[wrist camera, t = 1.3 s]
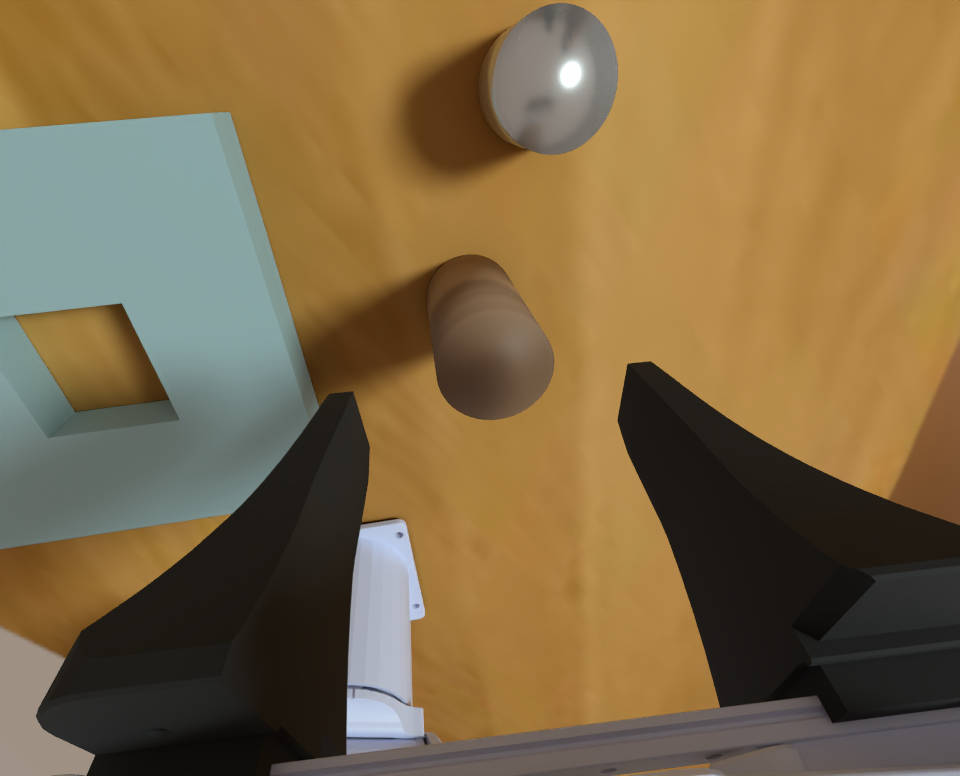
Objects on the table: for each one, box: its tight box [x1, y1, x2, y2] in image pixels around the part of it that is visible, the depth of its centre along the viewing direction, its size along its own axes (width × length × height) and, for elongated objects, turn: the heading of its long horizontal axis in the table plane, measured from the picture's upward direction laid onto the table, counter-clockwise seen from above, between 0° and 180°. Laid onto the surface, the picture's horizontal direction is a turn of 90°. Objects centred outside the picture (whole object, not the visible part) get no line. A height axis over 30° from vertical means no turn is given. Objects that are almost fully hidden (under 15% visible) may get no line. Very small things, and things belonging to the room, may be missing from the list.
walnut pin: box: [426, 255, 554, 420], centre depth 19 cm, size 4×4×7 cm
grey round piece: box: [479, 3, 618, 155], centre depth 16 cm, size 4×4×4 cm
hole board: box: [0, 112, 319, 549], centre depth 20 cm, size 17×16×2 cm
